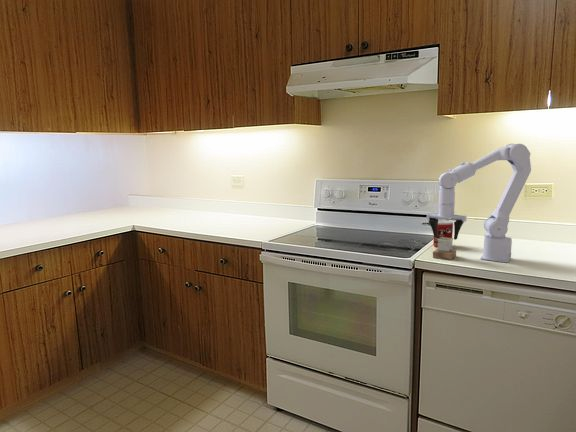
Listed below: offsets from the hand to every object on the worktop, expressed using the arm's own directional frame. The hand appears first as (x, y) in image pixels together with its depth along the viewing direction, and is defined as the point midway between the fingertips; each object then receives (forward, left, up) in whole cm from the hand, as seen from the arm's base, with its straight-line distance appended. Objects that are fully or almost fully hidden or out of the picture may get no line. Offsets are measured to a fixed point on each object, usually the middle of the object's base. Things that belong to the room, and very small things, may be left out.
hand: (445, 238), depth 164 cm
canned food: (+6, -17, -8) cm, 19 cm away
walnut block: (0, 0, -8) cm, 8 cm away
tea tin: (0, 0, -5) cm, 5 cm away
